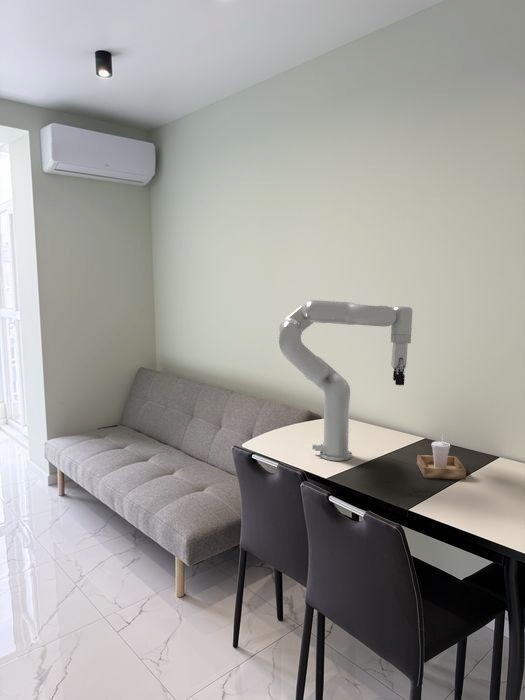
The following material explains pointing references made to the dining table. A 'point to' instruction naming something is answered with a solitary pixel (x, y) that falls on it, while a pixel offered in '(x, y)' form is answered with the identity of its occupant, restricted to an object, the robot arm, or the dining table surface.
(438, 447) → the smoothie
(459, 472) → the box
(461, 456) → the dining table surface
